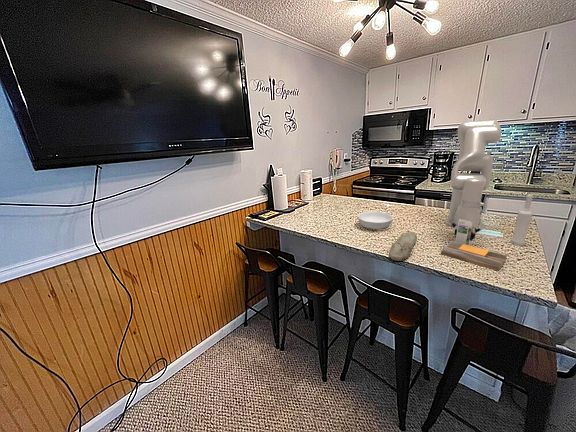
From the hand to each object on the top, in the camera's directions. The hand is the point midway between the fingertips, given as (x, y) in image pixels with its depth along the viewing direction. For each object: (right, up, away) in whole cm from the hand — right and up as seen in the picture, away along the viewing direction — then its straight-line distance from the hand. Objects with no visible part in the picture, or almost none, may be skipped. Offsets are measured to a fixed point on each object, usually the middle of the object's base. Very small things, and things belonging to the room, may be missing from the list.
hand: (463, 237), depth 124 cm
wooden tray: (-4, -8, -10) cm, 14 cm away
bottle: (+27, -3, 0) cm, 27 cm away
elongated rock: (-29, -6, +3) cm, 30 cm away
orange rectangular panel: (-4, -5, -11) cm, 13 cm away
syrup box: (0, -4, +1) cm, 5 cm away
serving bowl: (-34, +4, +33) cm, 47 cm away
